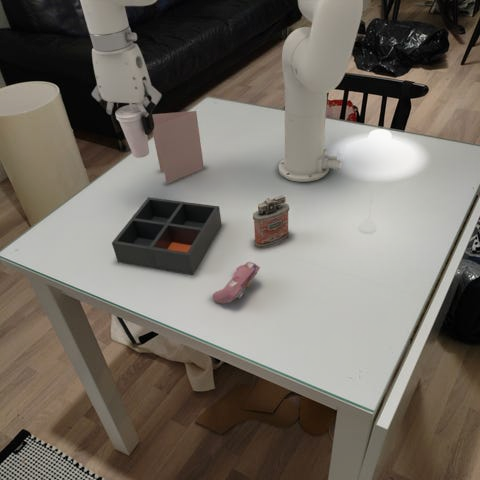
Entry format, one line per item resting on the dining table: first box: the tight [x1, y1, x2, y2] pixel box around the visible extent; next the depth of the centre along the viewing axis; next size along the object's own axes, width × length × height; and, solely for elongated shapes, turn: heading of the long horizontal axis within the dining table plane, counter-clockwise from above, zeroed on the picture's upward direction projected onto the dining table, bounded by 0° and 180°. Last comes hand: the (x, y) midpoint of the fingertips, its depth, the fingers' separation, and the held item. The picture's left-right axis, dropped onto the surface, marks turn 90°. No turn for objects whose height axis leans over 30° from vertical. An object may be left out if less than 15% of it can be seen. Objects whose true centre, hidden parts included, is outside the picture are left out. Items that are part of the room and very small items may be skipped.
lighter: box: [252, 194, 290, 249], centre depth 99 cm, size 8×3×10 cm, turn 118°
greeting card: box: [151, 110, 205, 185], centre depth 119 cm, size 11×7×15 cm, turn 92°
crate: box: [111, 196, 223, 276], centre depth 103 cm, size 17×17×5 cm
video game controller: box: [212, 261, 261, 304], centre depth 91 cm, size 10×5×7 cm, turn 148°
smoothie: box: [115, 103, 150, 159], centre depth 103 cm, size 6×6×14 cm
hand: (135, 130), depth 104 cm, fingers closed on smoothie, 6 cm apart
